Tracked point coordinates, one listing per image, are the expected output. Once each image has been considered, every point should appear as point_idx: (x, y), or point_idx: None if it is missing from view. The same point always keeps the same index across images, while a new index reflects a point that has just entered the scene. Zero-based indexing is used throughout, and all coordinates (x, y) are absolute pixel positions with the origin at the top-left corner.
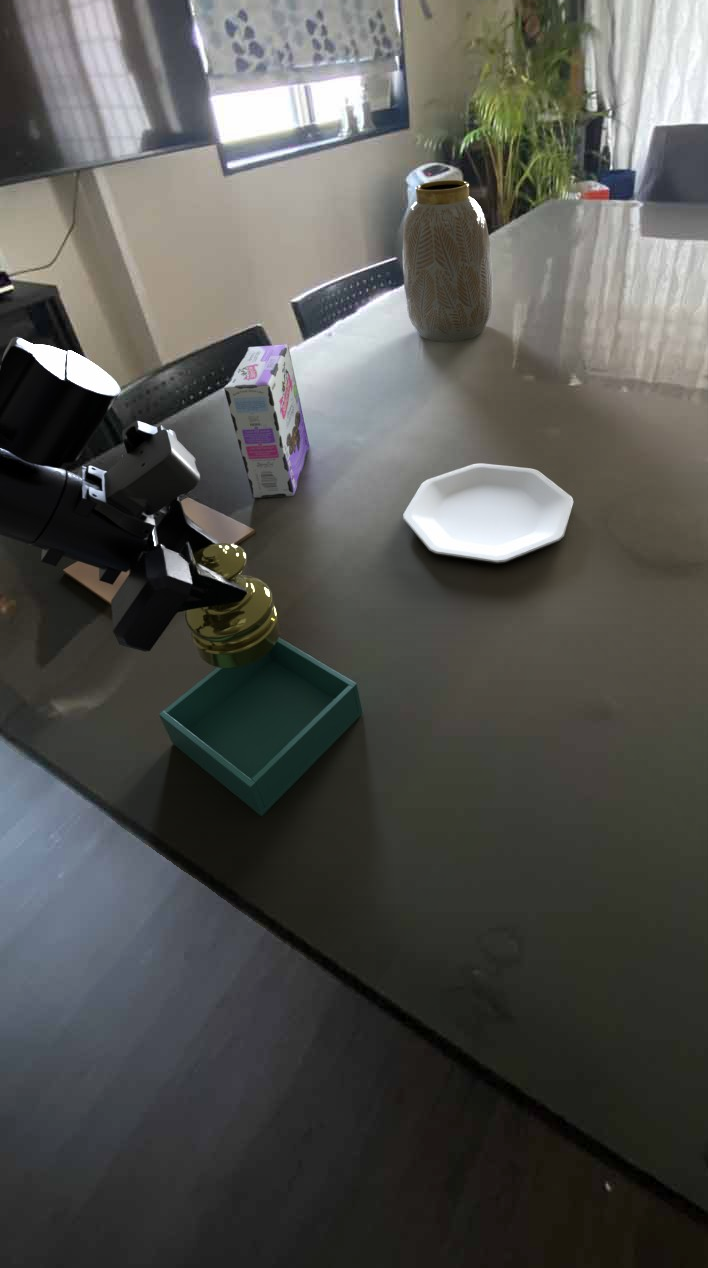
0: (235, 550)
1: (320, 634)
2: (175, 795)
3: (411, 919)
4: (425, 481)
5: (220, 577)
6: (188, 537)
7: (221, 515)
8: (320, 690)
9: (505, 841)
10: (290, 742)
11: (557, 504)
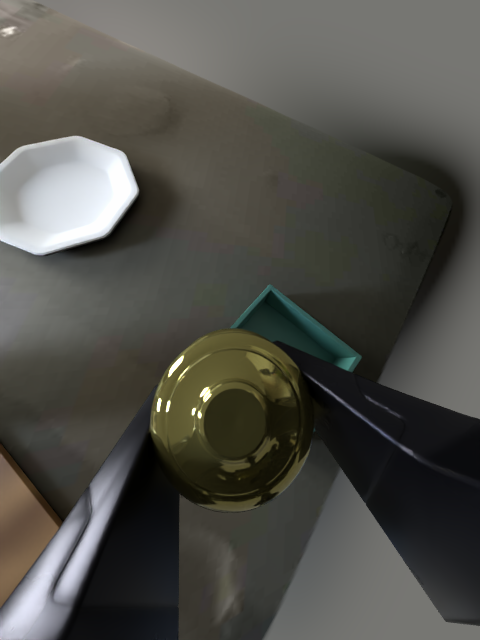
0: (213, 355)
1: (179, 331)
2: None
3: (385, 275)
4: None
5: (326, 374)
6: (127, 560)
7: None
8: (243, 325)
9: (345, 232)
10: (324, 330)
11: (79, 147)
